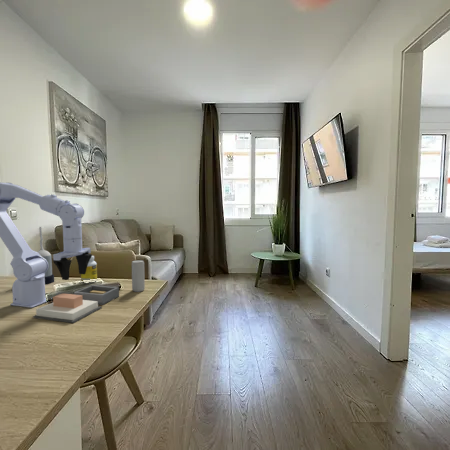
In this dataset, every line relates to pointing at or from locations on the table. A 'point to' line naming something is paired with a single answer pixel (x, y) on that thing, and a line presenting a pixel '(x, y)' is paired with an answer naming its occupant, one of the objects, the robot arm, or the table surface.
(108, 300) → the storage box
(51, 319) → the mat
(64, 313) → the lid
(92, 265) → the pill bottle
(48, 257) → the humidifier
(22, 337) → the table surface
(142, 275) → the beverage can
